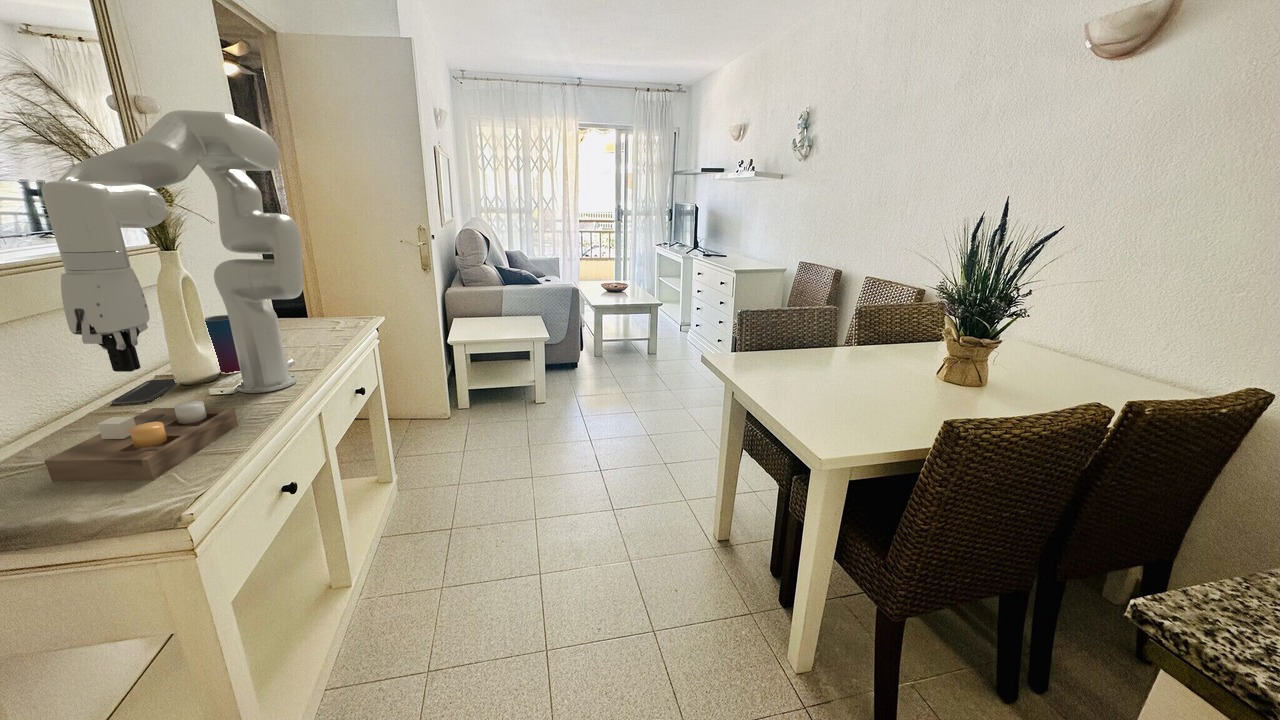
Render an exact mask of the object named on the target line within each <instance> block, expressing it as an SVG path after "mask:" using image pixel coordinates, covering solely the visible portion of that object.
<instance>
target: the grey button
mask: <svg viewBox="0 0 1280 720" xmlns="http://www.w3.org/2000/svg"><path fill="white" fill-rule="evenodd" d="M173 408H174V409H175V413H176V417H177V420H178V423H181V424H187V423H194V422H198V421H201V420H203V419H205V418H206V417H207V415H206V411H205V408H206V406H205V403H204V401H203V400H190V401H184V402H181V403H178V404H176V405H174V407H173Z"/></svg>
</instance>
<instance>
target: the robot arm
mask: <svg viewBox="0 0 1280 720" xmlns="http://www.w3.org/2000/svg"><path fill="white" fill-rule="evenodd" d="M279 162H280V150H279V148H278V145H277V143H276V142H275V140H274V139H273V138H272V136H270V135H269V134H268V133H267V132H266V131H264V130H262V129H261V128H259V127H257V126H255V125H254V124H252V123H250V122H249V121H246V120H244V119H242V118H240V117H238V116H237V115H233V114H230V113H227V112H221V111H204V110H202V111H201V110H187V109H185V110H184V109H183V110H181V109H180V110H179V109H178V110H173V111H169V112H167V113H165V114H164V115H163V116H162V117H160V118H159V119H158V120H157V121H156V122H155V123H154V124H153V125H152V126H151V127H150V128H149V129H148V130H147V131H146V132H145V133H144V134H143V135H141V136H140V137H139V138H138V140H136V141H135V142H133V143H130V144H127V145H124V146H121V147H117V148H115V149H112V150H110V151H107V152H104V153H101V154H98V155H93V156H92V157H90V158H86V159H84V160H82V161H80V162H79V163H77V164H76V165H74V166H72V167H71V168H70V169H69V170H68V171H67V172H65V173H64V174H63V175H62V176H61V177H59V179H57V180H56V181H55V180H53V181H47V182H45V183H44V184H42V187H41V194H42V198H43V202H44V205H45V208H46V211H47V216H48V219H49V222H50V225H51V228H52V232H53V235H54V238H55V241H56V244H57V248H58V251H59V255H60V259H61V262H62V265H63V268H64V272H65V273H61V274H60V291H61V293H60V294H61V299H62V305H63V306H62V307H63V310H64V314H65V319H66V323H67V326H68V328H69V331H70V332H71V334H73V335H79V336H80V335H81V341H82V343H83V344H85V345H87V344H88V345H98V346H100V347H101V348H102V350H103V351H105V350H106V351H107V355H108V358H109V362H110V365H111V368H112V371H113V372H116V373H118V372H123V373H124V372H125V373H126V372H127V373H128V372H129V373H131V372H134V371H135V370H137V371H138V370H140V369H141V364H140V360H139V356H138V352H137V348H136V347H137V345H138V344H139V339H138V337H139V335H140V334H141V333H143V332H144V331H146V330H148V328H149V326H148V324H147V323H149V321H150V312H149V306H148V303H147V300H146V298H145V293H144V291H143V288H142V286H141V283H140V281H139V279H138V277H137V275H136V273H135V271H134V269H133V267H132V266H131V263H130V259H129V258H130V256H129V254H128V251H127V247H126V243H125V240H124V236H123V232H122V229H145V228H151V227H155V226H157V225H159V224H161V223H162V222H163V221H164V220H165V219H166V218H167V214H168V205H167V202H166V200H165V198H164V197H163V195H161V194H160V193H159V192H158V191H157V190H156V189H158V188H163V187H167V186H171V185H175V184H178V183H181V182H183V181H185V180H186V179H187V178H188V177H189V176H190V174H191V173H192V172H193V171H194V170H195V168H196V167H198V166H199V167H200V168H201V169H202V171H203V172H204V173H205V175H206V176H207V177H208V179H209V180H210V182H211V184H212V185H213V187H214V190H215V193H216V198H217V199H216V200H217V211H218V212H217V213H218V225H219V236H220V242H221V244H222V245H223V247H224V248H225V250H227V251H229V252H232V253H236V254H248V255H249V254H254V255H257V254H259V255H260V254H262V255H273V259H262V258H261V259H259V258H258V259H257V258H240V259H239V258H235V259H228V260H225V261H223V262H220V263H219V264H218V265H217V266H216V268H215V269H214V273H213V279H214V283H215V287H216V288H217V290H218V293H219V295H220V297H221V299H222V302H223V304H224V307H225V309H226V314H227V315H228V317H229V321H230V326H231V331H232V335H233V340H234V344H235V348H236V353H237V357H238V362H239V366H240V370H241V372H240V374H241V380H243V382H241V385H238V386H237V389H238V390H237V389H236V390H237V391H238V392H240V393H244V394H245V393H247V394H259V393H260V394H261V393H267V392H268V393H269V392H274V391H278V390H282V389H285V388H288V387H290V386H292V385H294V384H296V382H297V380H298V379H297V375H296V374H295V373H291V372H289V370H290V368H292V367H293V366H295V365H296V361H295V360H293V359H292V358H289V359H288V360H286V355H285V354H286V353H285V349H284V345H283V339H282V335H281V334H282V333H281V329H280V324H279V319H278V318H279V317H278V315H277V312H275V310H274V308H273V307H272V306H271V305H270V304H269V302H268V301H267V300H292V299H296V298H298V297H300V296H301V294H302V292H303V291H304V281H305V280H304V266H303V264H304V263H303V250H302V248H303V247H302V238H301V237H302V236H301V231H300V229H299V227H298V224H297V223H296V221H295V220H294V219H293V218H292V217H291V216H289V215H288V214H287V215H286V214H283V213H278V212H276V213H275V212H274V213H273V212H264V207H263V196H262V192H261V190H260V188H259V186H257V184H256V183H255V182H254V181H253V180H252V178H250V177H249V176H248V175H247V174H246V173H245V172H244V171H247V172H248V171H249V172H250V171H252V172H253V171H254V172H268V171H272V170H274V169H275V168H277V166H278V165H279Z"/></svg>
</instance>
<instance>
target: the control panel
mask: <svg viewBox="0 0 1280 720" xmlns="http://www.w3.org/2000/svg"><path fill="white" fill-rule="evenodd" d="M205 411H206V415H207V417H206V418H205V419H203V420H201V421H198V422H194V423H187V424H181V423H178V420H177V417H176V413H175V409H174V407H152V408H149V409H147V410H146V411H144V412H142V413H140V414H138V415H135V416H132V417H133V418H134V421H135V424H136V426H137V425H140V424H144V423H149V422H162V423H163V425H164V429H165V432H166V436H167V440H166V441H165V442H163V443H161V444H159V445H156V446H152V447H147V448H136V447H134V444H133V441H132V438H131V435H130V436H128V437H126V438H125V439H102V437H101V434H100V433H99V434H96V435H94V436H92V437H90V438H88V439H86V440H84V441H82V442H80V443H78V444H76V445H74V446H72V447H70V448H68V449H65V450H63V451H61V452H59V453H57V454H55V455H53V456H51V457H49V458H47V459H45V460H44V464H45V466H46V469H47V471H48V474H49V477H50V480H51V482H52V483H56V482H59V483H60V482H61V483H62V482H115V481H116V482H117V481H119V482H121V481H123V482H125V481H128V482H129V481H154V480H157V479H158V478H159V477H161V476H162V475H164V474H165V473H167V472H169V471H170V470H172V469H173V468H175V467H177V466H178V465H179V464H181V463H183V462H184V461H185V460H188V459H189V458H191V457H192V456H193V455H195V454H197V453H198V452H199V451H201V450H203V449H204V448H206V447H207V446H208V445H209V446H210V445H211V444H212V443H213V442H215V441H216V440H218V439H219V438H221V437H223V436H224V435H225V434H227V433H229V432H230V431H232V430H233V429H235V428H236V427H238V426H239V421H238V417H237V413H236V408H235V407H205Z"/></svg>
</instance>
